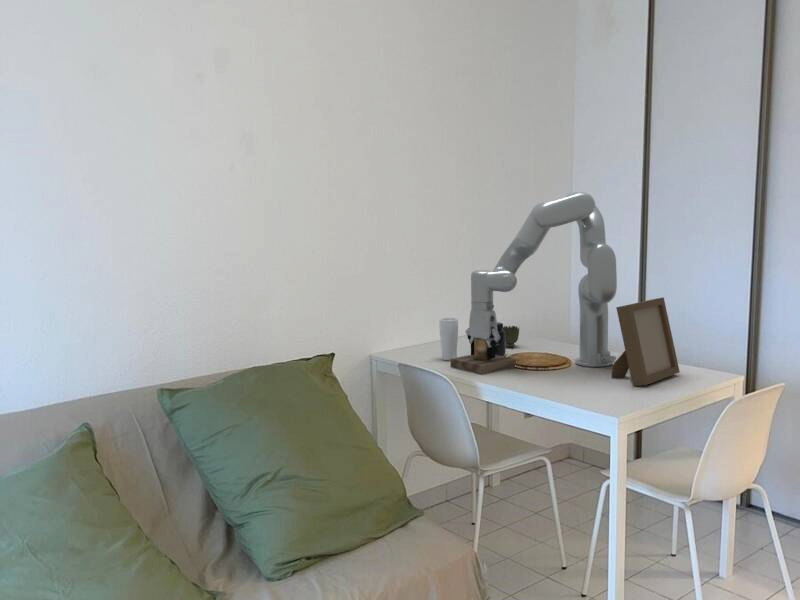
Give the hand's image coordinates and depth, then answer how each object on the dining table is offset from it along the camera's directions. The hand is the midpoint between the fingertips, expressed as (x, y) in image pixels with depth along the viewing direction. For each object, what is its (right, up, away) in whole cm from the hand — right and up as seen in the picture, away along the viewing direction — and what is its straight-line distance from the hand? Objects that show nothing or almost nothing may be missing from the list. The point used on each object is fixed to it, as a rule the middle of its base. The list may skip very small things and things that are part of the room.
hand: (482, 356), depth 264 cm
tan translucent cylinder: (0, -4, 0) cm, 4 cm away
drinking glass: (-11, -2, +15) cm, 18 cm away
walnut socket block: (0, -4, +1) cm, 4 cm away
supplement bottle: (+7, -1, +21) cm, 22 cm away
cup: (+14, +1, +35) cm, 37 cm away
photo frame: (+48, -6, -21) cm, 53 cm away
